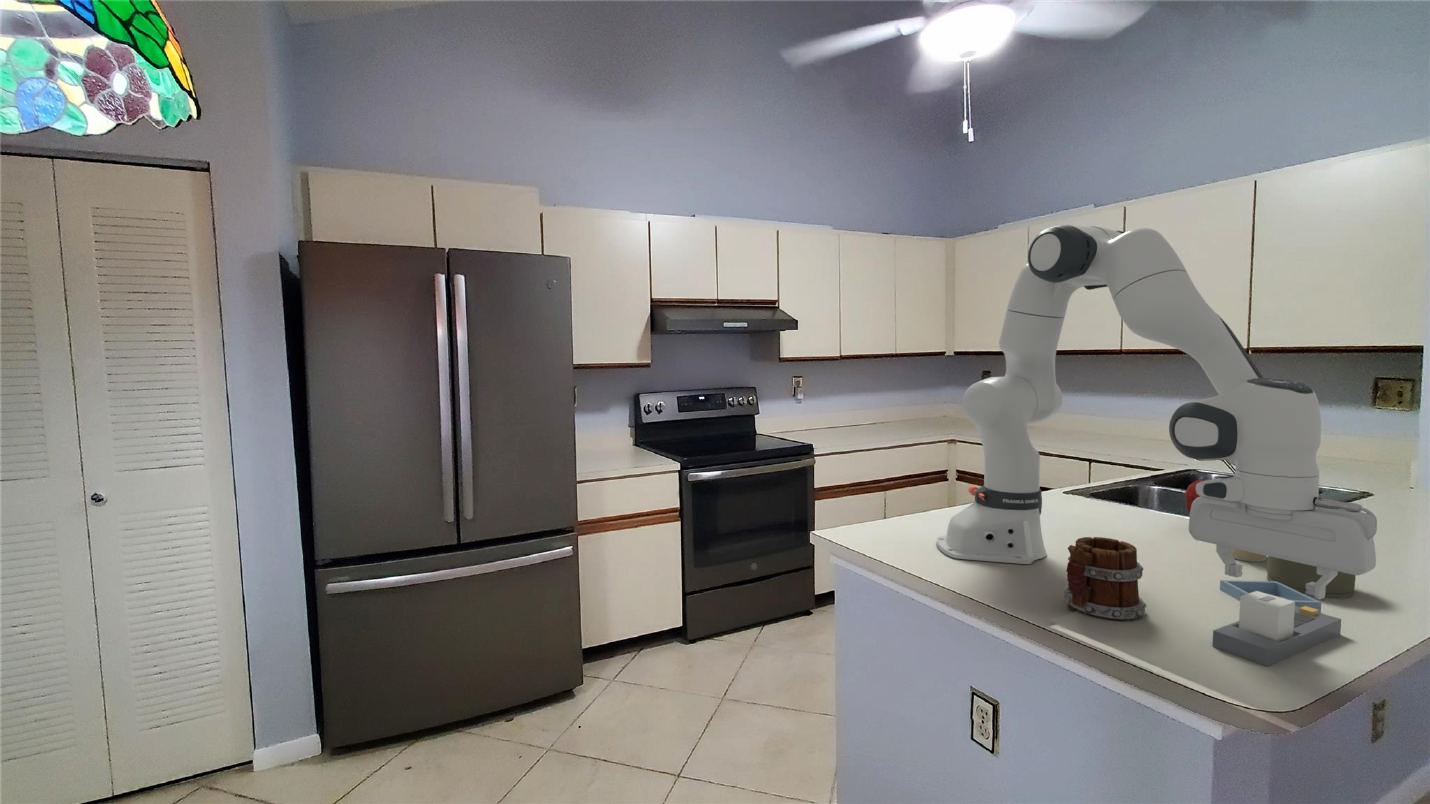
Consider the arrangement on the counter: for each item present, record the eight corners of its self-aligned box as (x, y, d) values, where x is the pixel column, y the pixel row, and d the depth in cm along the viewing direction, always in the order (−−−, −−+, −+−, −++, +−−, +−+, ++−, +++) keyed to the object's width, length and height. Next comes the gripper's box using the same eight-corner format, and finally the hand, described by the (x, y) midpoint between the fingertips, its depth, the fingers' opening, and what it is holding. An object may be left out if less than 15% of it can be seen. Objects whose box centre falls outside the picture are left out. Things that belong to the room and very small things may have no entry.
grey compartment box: (1267, 672, 83) (1268, 645, 83) (1212, 651, 89) (1213, 626, 89) (1352, 633, 93) (1354, 610, 93) (1298, 617, 99) (1299, 595, 99)
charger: (1276, 655, 86) (1278, 606, 85) (1238, 642, 90) (1240, 595, 89) (1292, 648, 88) (1295, 601, 87) (1254, 635, 92) (1256, 590, 91)
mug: (1165, 615, 101) (1159, 530, 98) (1113, 649, 95) (1106, 560, 92) (1094, 591, 111) (1088, 514, 109) (1044, 620, 105) (1036, 539, 103)
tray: (1258, 615, 100) (1259, 600, 100) (1219, 593, 109) (1220, 580, 109) (1320, 617, 99) (1321, 602, 99) (1275, 595, 108) (1276, 581, 108)
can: (1374, 602, 105) (1377, 563, 104) (1290, 596, 108) (1292, 558, 108) (1326, 577, 117) (1328, 542, 116) (1251, 572, 120) (1253, 538, 119)
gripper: (1388, 503, 79) (1383, 606, 80) (1206, 478, 97) (1204, 562, 98) (1366, 509, 76) (1361, 616, 77) (1183, 482, 95) (1182, 569, 96)
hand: (1272, 585), depth 88 cm, fingers open, 8 cm apart
